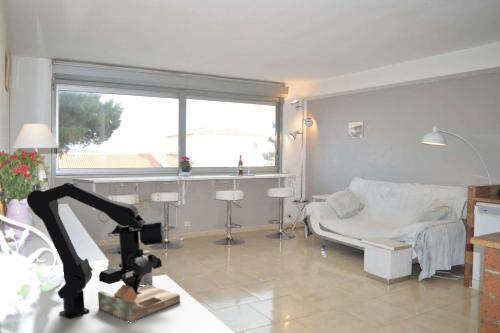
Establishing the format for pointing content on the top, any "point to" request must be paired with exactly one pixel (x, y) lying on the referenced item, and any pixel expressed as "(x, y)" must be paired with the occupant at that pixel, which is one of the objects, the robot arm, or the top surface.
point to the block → (126, 293)
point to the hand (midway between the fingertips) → (133, 296)
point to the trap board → (138, 303)
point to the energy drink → (148, 277)
